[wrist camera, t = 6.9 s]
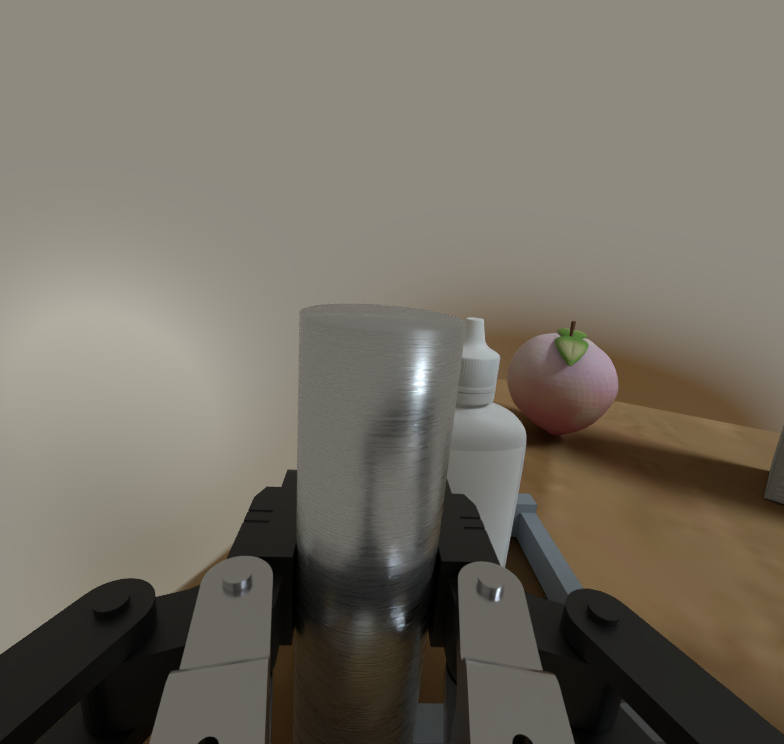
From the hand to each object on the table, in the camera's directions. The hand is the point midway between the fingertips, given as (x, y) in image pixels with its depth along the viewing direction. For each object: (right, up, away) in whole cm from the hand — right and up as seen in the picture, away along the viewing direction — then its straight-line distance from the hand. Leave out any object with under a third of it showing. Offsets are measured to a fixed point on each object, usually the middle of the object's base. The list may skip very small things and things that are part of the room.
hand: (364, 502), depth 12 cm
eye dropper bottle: (+3, -6, +9) cm, 11 cm away
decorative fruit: (+14, -2, +25) cm, 29 cm away
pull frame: (+3, -6, +5) cm, 9 cm away
